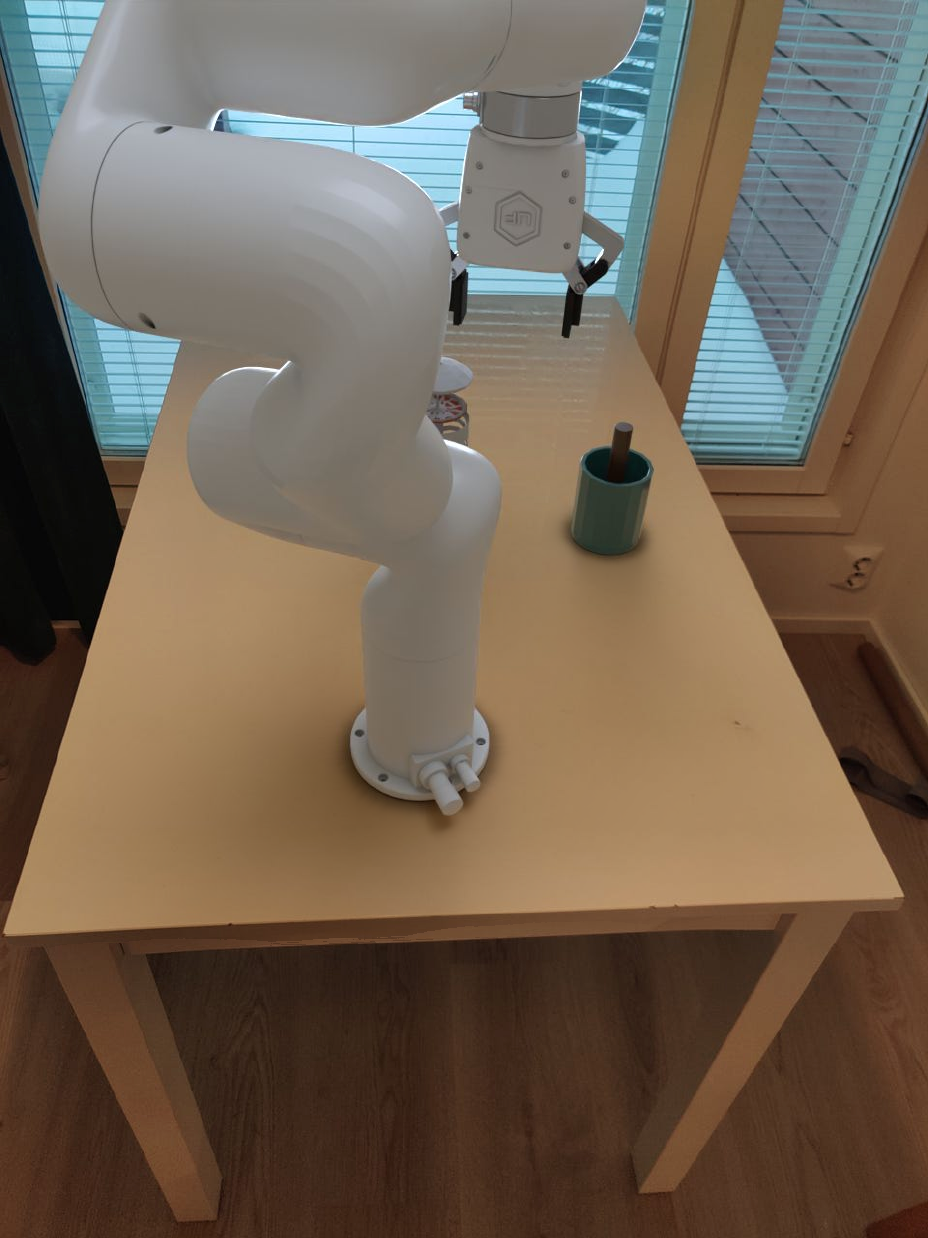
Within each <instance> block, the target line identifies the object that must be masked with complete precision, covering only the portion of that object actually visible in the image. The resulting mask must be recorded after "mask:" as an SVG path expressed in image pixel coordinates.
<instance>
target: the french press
mask: <svg viewBox="0 0 928 1238" xmlns="http://www.w3.org/2000/svg"><path fill="white" fill-rule="evenodd" d="M473 376H474V373H473V372H472V370H471V369H470V368H469V367H468V366H467V365H465V364H463V363H461V362H460V361H458V360H456V359H455V358H450V357H445V356H441V360H440V365H439V369H438V374H437V378H436V382H435V385H434V389H433V393H432V396H431V399H430V403H429V406H428V408H427V411H426V415H427V416H428V417H429V419H430V420H431V421H432V422H433V424H434V425H435V426H436V428H437V429H438V431H439V432H440V434H441V436H442V438H443V439H444V440H448V441H452V442H455V443H458V444H461V445H464V446H466V447H469V436H470V435H469V433H470V431H469V430H470V414H469V413H468V404H467V402H466V401H465V399H463V397H461V396H459V395H457V393H458V392H461V391H463V390H465V389H467V388H468V387H469V386H470V384H471V383H472V382H473V378H474V377H473ZM461 418H464V420H462V419H461ZM453 422H454V423H458V424H460V425H461V426H462V427H459V426H458V425H452V424H451V425H444V424H449V423H453ZM446 431H452V432H447V433H445V432H446Z"/></svg>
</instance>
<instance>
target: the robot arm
mask: <svg viewBox="0 0 928 1238" xmlns="http://www.w3.org/2000/svg"><path fill="white" fill-rule="evenodd" d="M647 4H648V0H105V1H104V4H103V5H102V8H101V11H100V13H99V15H98V17H97V20H96V23H95V26H94V28H93V31H92V34H91V36H90V39H89V42H88V44H87V47H86V49H85V52H84V54H83V56H82V59H81V63H80V65H79V68H78V69H77V73H76V76H75V78H74V80H73V83H72V86H71V89H70V91H69V94H68V96H67V99H66V101H65V104H64V106H63V109H62V112H61V114H60V117H59V119H58V122H57V124H56V128H55V130H54V132H53V136H52V137H51V141H50V143H49V147H48V150H47V154H46V157H45V162H44V166H43V169H42V175H41V179H40V185H39V192H38V193H39V194H38V206H37V207H38V209H37V214H38V228H39V229H38V230H39V240H40V244H41V247H42V252H43V254H44V258H45V262H46V264H47V267H48V269H49V271H50V273H51V276H52V277H53V279H54V281H55V283H56V284H57V285H58V287H59V288H60V290H61V291H62V292H63V293H64V295H65V296H66V297H67V298H68V299H69V300H70V301H71V303H73V304H74V305H75V306H77V307H78V308H79V309H80V310H82V311H84V312H85V313H86V314H88V315H89V316H90V317H92V318H94V319H96V320H99V321H101V322H102V323H105V324H108V325H111V326H114V327H117V328H120V329H122V330H123V329H124V330H127V331H131V332H135V333H140V334H145V335H151V336H156V337H163V338H168V339H172V340H177V341H178V340H179V341H182V342H183V341H184V342H187V343H195V344H199V345H205V346H209V347H210V346H211V347H216V348H220V349H227V350H231V351H237V352H242V353H247V354H252V355H256V356H261V357H267V358H273V359H279V360H283V361H284V360H285V361H287V362H286V363H285V364H283V365H282V367H281V368H280V369H275V368H269V367H261V366H260V367H258V366H246V367H239V368H234V369H232V370H230V371H227V372H225V373H223V374H222V375H220V376H219V377H217V378H215V380H214V381H213V382H212V383H210V385H209V386H208V387H207V388H206V389H205V390H204V391H203V393H202V394H201V396H200V397H199V399H198V401H197V403H196V405H195V406H194V409H193V411H192V414H191V417H190V421H189V425H188V430H187V436H186V458H187V466H188V471H189V475H190V477H191V478H190V479H191V481H192V484H193V486H194V489H195V491H196V492H197V495H198V496H199V498H200V500H201V501H202V503H203V504H204V505H205V506H206V507H207V508H208V509H209V510H210V511H211V512H212V513H213V514H215V515H216V516H218V517H219V518H222V519H224V520H226V521H228V522H230V523H233V524H236V525H238V526H241V527H242V528H245V529H249V530H251V531H254V532H257V533H259V534H262V535H265V536H268V537H270V538H273V539H277V540H280V541H283V542H286V543H290V544H292V545H293V544H294V545H297V546H301V547H307V548H310V549H315V550H320V551H324V552H329V553H333V554H338V555H342V556H346V557H347V556H348V557H351V558H356V559H360V560H362V561H366V562H370V563H374V564H377V565H380V566H379V567H378V568H377V569H376V570H375V572H374V573H373V574H372V575H371V577H370V578H369V580H368V581H367V583H366V585H365V587H364V590H363V592H362V594H361V595H362V596H361V599H360V610H359V612H360V613H359V614H360V627H361V631H360V632H361V647H362V665H363V667H362V668H363V683H364V684H363V685H364V702H365V703H364V704H365V707H364V708H363V709H362V711H361V712H360V713H359V714H358V715H357V717H356V718H355V721H354V722H353V724H352V727H351V731H350V735H349V749H350V756H351V760H352V762H353V766H354V767H355V769H356V771H357V772H358V773H359V775H360V777H361V778H362V779H363V780H364V781H366V782H367V783H368V784H369V785H370V786H371V787H373V788H374V789H376V790H378V791H379V792H380V793H383V794H386V795H388V796H391V797H392V798H396V799H402V800H405V801H417V802H418V801H419V802H421V801H433V800H435V802H436V804H437V806H438V808H439V810H440V811H441V813H442V814H443V815H444V816H452V815H455V814H456V813H458V812H459V811H460V810H461V809H462V808H463V806H464V801H463V799H462V797H461V796H460V794H459V792H461V790H463V789H465V791H466V792H467V793H473V792H475V791H477V790H478V789H479V788H480V787H481V785H482V783H481V781H480V779H479V776H480V774H481V773H482V771H483V769H484V768H485V767H486V764H487V761H488V758H489V751H490V733H489V728H488V725H487V723H486V721H485V719H484V717H483V715H482V714H481V713H480V712H479V711H478V709H477V708H476V707H475V706H476V694H477V678H478V677H477V676H478V661H479V646H480V645H479V644H480V633H481V632H480V631H481V617H482V603H483V594H484V593H483V592H484V585H485V578H486V571H487V566H488V561H489V557H490V553H491V549H492V545H493V542H494V537H495V534H496V530H497V526H498V523H499V519H500V514H501V509H502V498H503V497H502V496H503V488H502V481H501V478H500V475H499V473H498V470H497V469H496V467H495V465H494V464H492V462H491V461H490V460H489V459H488V458H486V456H484V455H483V454H481V453H480V452H478V451H477V450H475V449H473V448H471V447H469V446H468V447H466V446H464V445H461V444H458V443H455V442H452V441H448V440H444V439H443V438H442V436H441V434H440V432H439V431H438V429H437V428H436V426H435V425H434V424H433V422H432V421H431V420H430V419H429V417H428V416H427V415H426V411H427V408H428V406H429V403H430V399H431V396H432V393H433V389H434V385H435V382H436V378H437V374H438V369H439V365H440V360H441V357H442V356H443V355H442V354H443V349H444V343H445V336H446V332H447V326H448V319H449V312H452V313H453V315H452V326H457V327H459V326H460V325H463V322H464V319H465V317H466V315H467V313H468V312H467V311H468V293H469V290H468V289H469V272H468V270H467V268H468V267H469V266H470V265H474V266H479V267H485V268H486V267H487V268H494V269H495V268H497V269H504V270H513V271H522V272H530V273H531V272H532V273H540V274H541V273H543V274H562V276H563V277H564V279H565V280H566V282H567V283H568V285H567V289H566V292H565V300H564V309H563V317H562V325H561V326H562V327H561V335H560V336H561V337H563V339H570V336H571V331H572V326H575V327H579V326H580V323H581V317H582V309H583V303H584V302H583V301H584V294H585V293H586V292H587V290H588V289H589V288H590V287H592V286H593V285H594V284H595V283H597V282H598V281H600V279H602V278H603V277H604V276H606V275H607V273H608V271H609V270H610V268H611V267H612V266H613V264H614V263H615V261H616V260H617V258H618V257H619V256H620V255H621V253H622V252H623V250H624V249H625V238H624V237H623V236H622V235H621V234H619V233H618V232H616V231H615V230H613V229H612V228H610V227H609V226H607V225H606V224H605V223H603V222H602V221H600V220H599V219H597V218H596V217H594V216H593V215H592V214H590V213H588V212H587V211H585V207H586V206H585V203H586V190H587V189H586V188H587V186H586V185H587V150H586V149H587V148H586V138H585V135H584V133H583V132H581V131H580V130H578V128H579V119H580V109H581V101H582V91H583V90H582V89H583V82H589V81H594V80H598V79H601V78H604V77H606V76H608V75H609V74H610V73H612V72H613V71H614V70H616V69H617V68H618V67H619V66H620V65H621V64H622V63H623V62H624V61H625V59H626V58H627V56H628V55H629V53H630V51H631V50H632V49H633V46H634V44H635V43H636V40H637V37H638V36H639V33H640V30H641V27H642V25H643V21H644V17H645V15H646V9H647V6H648V5H647ZM461 96H463V97H462V109H463V110H464V111H465V110H467V111H472V113H475V114H476V117H478V118H479V121H478V124H476V125H474V126H473V127H472V128H471V129H470V130H469V136H468V138H467V144H466V149H465V152H464V153H465V155H464V160H463V167H462V175H461V180H460V181H461V183H460V189H459V191H460V192H459V200H456V201H454V202H452V203H450V204H447V205H444V206H443V207H441V208H438V207H437V206H436V204H435V202H434V201H433V200H432V198H431V197H430V195H428V193H427V192H426V191H425V190H424V189H423V188H422V187H421V186H420V185H419V184H418V183H417V182H416V181H414V180H412V179H411V178H410V177H409V176H407V175H406V174H404V173H402V172H400V171H399V170H398V169H395V168H393V167H391V166H389V165H387V164H386V163H383V162H380V161H378V160H375V159H372V158H369V157H367V156H364V155H361V154H359V153H356V152H351V151H346V150H342V149H339V148H335V147H330V146H325V145H320V144H319V145H318V144H313V143H308V142H301V141H292V140H287V139H286V140H285V139H279V138H273V137H272V138H271V137H264V136H257V135H250V134H245V133H234V132H227V131H220V130H214V129H215V125H216V122H217V119H218V117H219V115H220V114H221V112H223V111H234V112H243V113H250V114H257V115H264V116H265V115H266V116H273V117H279V118H287V119H294V120H304V121H311V122H317V123H318V122H319V123H324V124H332V125H341V126H347V127H348V126H350V127H359V128H361V127H362V128H384V127H390V126H395V125H399V124H400V125H401V124H403V123H406V122H409V121H411V120H414V119H416V118H418V117H420V116H422V115H425V114H427V113H428V112H430V111H432V110H434V109H437V108H439V107H442V106H443V105H445V104H446V103H449V102H451V101H453V100H455V99H457V98H459V97H461ZM456 222H457V225H456V251H455V252H454V251H453V250H452V248H451V245H450V240H449V236H448V232H447V226H449V225H452V224H454V223H456ZM582 235H584V236H586V237H587V238H589V239H590V240H591V241H593V242H595V243H596V244H597V245H599V246H600V247H601V248H602V250H601V252H600V253H599V255H598V256H597V257H595V258H594V259H593V260H592V261H590V262H589V263H588V264H586V266H585V264H584V263H583V261H582V260H581V258H580V257H579V255H580V248H581V243H582Z"/></svg>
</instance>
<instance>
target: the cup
mask: <svg viewBox="0 0 928 1238" xmlns="http://www.w3.org/2000/svg"><path fill="white" fill-rule="evenodd" d="M610 451H611V445H602V446H598V447H594V448H591V449H590V450H588V451H587V452H585V453H583V455H582V456H581V458H580V461H579V467H578V468H579V469H578V473H577V474H578V475H577V482H576V488H575V495H574V502H573V509H572V516H571V517H572V518H571V528H570V534H571V536H572V539H573V540H574V542H575V543H577V545H579V547H581V548H583V549H584V550H587V551H588V552H592V553H594V554H598V555H604V556H615V555H622V554H625V553H628V552H630V551H632V550H633V549H634V548H635V547H636V546H638V544H639V541H640V537H641V533H642V529H643V524H644V519H645V514H646V509H647V505H648V500H649V495H650V490H651V487H652V481H653V476H654V473H655V472H654V471H655V468H654V466H653V463H652V461H651V460H650V459H649V458H648V457H647V456H646V455H645V454H643V453H641V452H639V451H637V450H635V449H633V448H630V450H629V455H628V461H627V466H626V471H625V477H624V482H623V484H616V483H611V482H606V475H607V469H608V463H609V457H610Z"/></svg>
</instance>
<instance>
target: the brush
mask: <svg viewBox="0 0 928 1238" xmlns="http://www.w3.org/2000/svg"><path fill="white" fill-rule="evenodd" d="M633 433H634V426H633V425H632V424H631V423H629V422H626V421H620V422H619V421H618V422H616V423H615V424H614V427H613V433H612V440H611V445H610V446H611V451H610V457H609V463H608V469H607V475H606V482H611V483H616V484H623V482H624V477H625V471H626V466H627V461H628V455H629V450H630V449H631V443H632V440H633V439H632V438H633Z"/></svg>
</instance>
